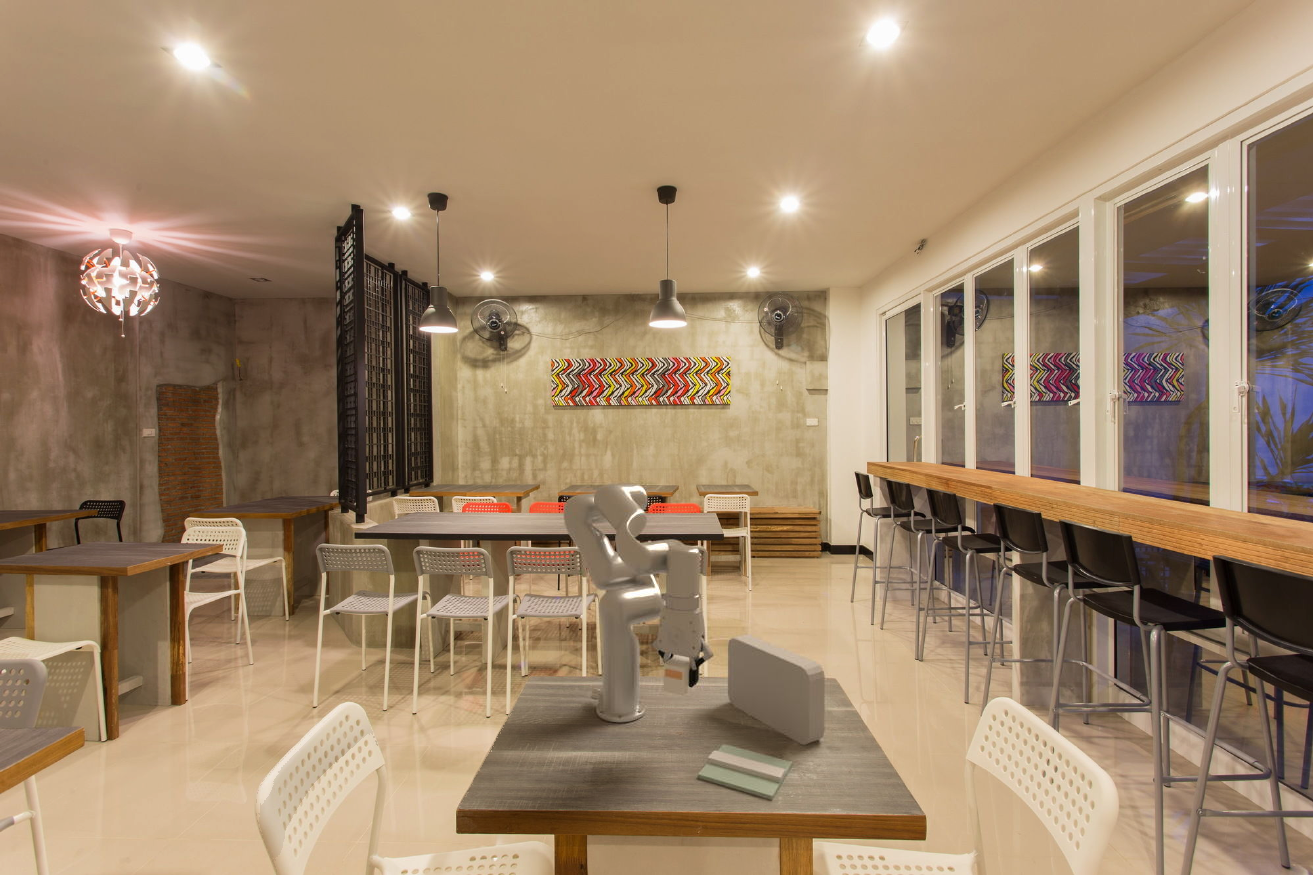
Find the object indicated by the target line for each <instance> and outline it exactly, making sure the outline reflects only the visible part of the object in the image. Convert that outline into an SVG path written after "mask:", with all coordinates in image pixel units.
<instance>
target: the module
mask: <svg viewBox="0 0 1313 875" xmlns="http://www.w3.org/2000/svg"><path fill="white" fill-rule="evenodd" d="M690 669H691V664H690V660H689V657H684V656H679V655H675V654H674V656H673V657H672V658H671V659H670V660H668V661H667V662H665V663H663V686H662V687H663V690H662V691H663V692H666V693H671V694H675V695H679V696H683V697H684V696H685V695H687V694H688V687H689V670H690ZM699 683H700V679H699V680H698V682H697V684H695V685H694V686H697V685H698V684H699Z"/></svg>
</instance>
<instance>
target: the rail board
mask: <svg viewBox="0 0 1313 875" xmlns="http://www.w3.org/2000/svg"><path fill="white" fill-rule="evenodd" d="M792 767H793V761H790V760H786V759H782V758H778V757H773V756H769V755H766V754H764V753H759V752H755V751H751V750H748V749H744V748H740V747H737V746H733V745H728V744H724V743H723V744H722V745H721V746H720V747H719V749H718V750H713V751H712V752H711V753H710V755H709V756H708V757H707V763H706V764H705V765H704V767H702V769H701V770H700V771H699V772H698V773H697V778H698V779H700V780H703V781H707V782H710V783H715V784H716V785H717V784H718V785H720V786H724V787H726V788H731V789H735V790H737V791H742V792H745V793H747V794H751V795H754V796H758V797H762V798H765V799H766V800H767V799H769V800H771V801H773V800H774V798H775V797H776V795H777V793H778V791H779V790H780V789H781V786H782V784H783V783H784V781H785V779H786V778H787V776H788V774H789V772H790V770H791V769H792Z"/></svg>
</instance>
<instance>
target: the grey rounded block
mask: <svg viewBox="0 0 1313 875" xmlns="http://www.w3.org/2000/svg"><path fill="white" fill-rule="evenodd" d="M825 685H826V681H825V672H824V669H823V668H822V665H820V664H819V663H818V662H816V661H815V660H812V659H810V658H806V657H805V656H802V655H800V654H798V653H795V652H794V651H793V652H792V651H790V650H787V649H786V648H782V647H780V646H777V645H776V644H772V643H770V642H767V641H766V640H763V639H760V638H758V637H755V636H753V635H750V634H743V635H740V636H739V635H738V636H736V637H732V638H730V639H729V640H728V644H727V696H728V699H729V701H730V704H731V705H733V707H735V708H737V709H738V710H740V711H741V712H744V713H745V714H747V715H748V716H750V717H752V718H754V719H755V720H757V721H759V722H761V723H763V724H765V725H766V726H768V727H770V728H772V729H773V730H775V731H777V732H779V733H781V734H783V735H785V737H788V738H790V739H791V740H792V741H795V742H797V743H798V744H800V745H804V746H805V745H808V744H811V743H813V742H815V741H818V740H821V739H822V738H824V735H825V723H826V722H825V721H826V720H825V718H826V717H825V716H826V715H825V710H826V709H825V707H826V706H825V704H826V703H825V702H826V700H825V699H826V698H825V697H826V696H825V694H826V693H825V692H826V691H825V690H826V689H825Z"/></svg>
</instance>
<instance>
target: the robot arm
mask: <svg viewBox="0 0 1313 875" xmlns="http://www.w3.org/2000/svg"><path fill="white" fill-rule="evenodd" d="M648 501H649V500H648V494H647V491H646V490H645V489H644V487H643V486H641V484H639V483H635V482H625V483H624V482H623V483H622V482H621V483H620V482H619V483H608V484H604V485H602V486H600V487H598V488H597V490H596V491H595V493H594V492H593V493H591V492H590V493H581V494H578V495H574V496H571V497H570V498H569V499H568V500H566V502H565V503H564V506H563V521H564V525H565V529H566V532H567V533H568V535H569V537H570V538H571V540H572V541H573V543H574V544H575V546H576V547H577V549H578V550H579V553H580V555H581V558H582V560H583V562H584V565H585V567H586V570H587V573H588V574H589V577H590V579H591V581H592V583H593V585H594V587H595V588H596V589H597V590H600V591H607V592H605V593H604V594H603V595H602V596H601V598H600V599H599V602H598V615H599V619H600V625H601V633H602V634H601V635H602V641H601V642H602V689H601V688H598V687H593V688H592V690H591V695H590V698H591V700H597V702H598V704H597V706H596V708H595V710H596V711H595V712H596V715H597V716H598V717H599V718H601V719H602V720H603V721H607V722H611V723H612V722H613V723H628V722H633V721H636V720H638V719H640V718H641V717H643V716H644V715H645V713H646V705H645V703H644V702H643V701H641V699H640V640H639V638H638V636H637V635H636V633H635V632H634V630H633V628H632V626H635V625H639V624H641V623H642V624H643V623H647V622H650V621H654V620H657V619H659V623H658V631H657V638H656V639H655V640H654V641H653V642H652V644H651V645H652V647H653V649H655V650H656V652H658V655H659V656H660V658H661V659H662V662H663V664H664V663H665V662H667V661H668V660H670V659H671V658H672V657H674V656H675V655H679V656H684V657H689V660H690V664H691V669H690V670H689V686H688V687H689V688H693V687H695V686H696V685H695V684H697V682H698V680H699V681H700V667H701V665H703V664H704V663H706V662H708V661H709V660H710V659H711V658H713V657H714V653H713V652H712V650H711V648H710V647H709V645H708V644H707V642H706V629H705V628H706V627H705V619H704V613H703V608H701V607H700V600H701V599H700V596H701V595H700V594H701V593H700V592H701V591H700V590H701V588H700V587H701V584H700V583H701V574H700V573H701V554H700V550H699V548H697V547H696V546H692V545H687V544H684V543H683V542H681V541H680V540H678V539H671V538H670V539H662V540H654V541H645V542H640V541H639V540H637V537H638V536H639V535H640V534H641V533H642V532H643V531H644V529H645V528H646V525H647V522H648V516H647V514H646V511H645V510H646V508H647V506H648ZM603 523H604V524H605V523H609V525H611V527H612V528H613V529H614V530H615V531H616V532H615V537H614V538H615V539H614V541H615V550H616V551H615V550H614V548H613V546H612V544H611V541H610V540H609V538H608V536H606V534H605V533H604V532H602V531H601V530H600V529H599V528H597V527H596V526H594V525H593V524H603ZM659 574H665V578H666V579H665V580H666V581H665V593H662V591H661V590H660V587H659V585H658V583H657V581H656V578H655V575H659ZM700 653H703V655H702V656H701V657H700ZM697 685H698V684H697Z"/></svg>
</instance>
